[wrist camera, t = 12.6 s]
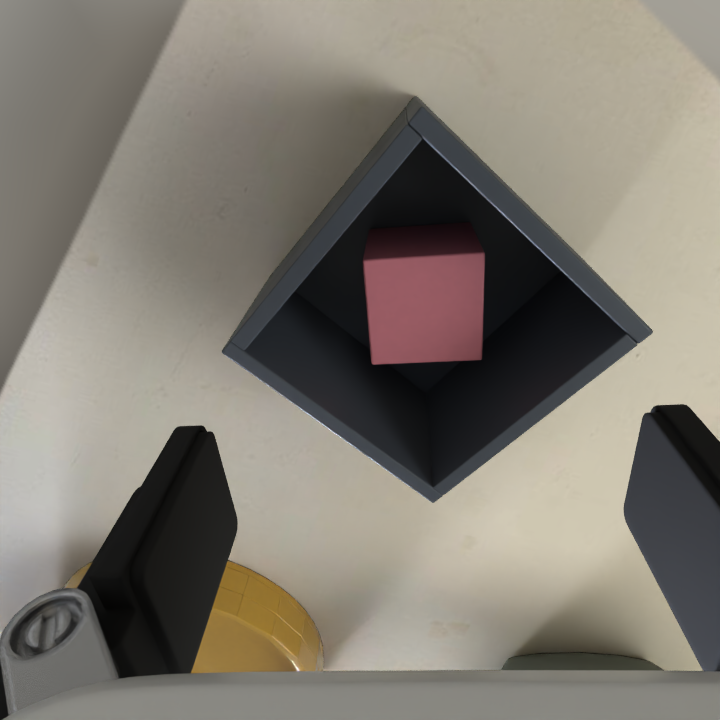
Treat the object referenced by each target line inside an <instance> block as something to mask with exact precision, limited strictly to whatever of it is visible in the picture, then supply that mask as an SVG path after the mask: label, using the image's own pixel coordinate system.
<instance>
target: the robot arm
mask: <svg viewBox="0 0 720 720" xmlns="http://www.w3.org/2000/svg"><path fill="white" fill-rule="evenodd" d="M624 516H625V520H626V523H627V525H628V527H629V529H630V531H631V533H632V535H633V537H634V539H635V541H636V542H637V544H638V546H639V548H640V550H641V552H642V554H643V556H644V558H645V560H646V562H647V564H648V566H649V567H650V569H651V571H652V573H653V575H654V577H655V579H656V581H657V583H658V585H659V587H660V589H661V591H662V593H663V594H664V596H665V598H666V600H667V602H668V604H669V606H670V608H671V610H672V612H673V614H674V616H675V618H676V619H677V621H678V623H679V625H680V627H681V629H682V631H683V633H684V635H685V637H686V639H687V641H688V643H689V644H690V646H691V648H692V650H693V652H694V654H695V656H696V658H697V660H698V662H699V664H700V666H701V667H702V669H703V671H663V670H436V671H292V672H225V673H191V671H192V669H193V666H194V663H195V660H196V656H197V653H198V650H199V647H200V644H201V641H202V638H203V635H204V632H205V629H206V626H207V623H208V620H209V616H210V613H211V610H212V607H213V604H214V601H215V598H216V595H217V592H218V589H219V586H220V583H221V579H222V576H223V573H224V570H225V567H226V564H227V561H228V558H229V555H230V552H231V549H232V546H233V542H234V539H235V536H236V533H237V524H238V523H237V516H236V512H235V508H234V505H233V501H232V497H231V494H230V490H229V487H228V483H227V479H226V476H225V472H224V468H223V465H222V461H221V457H220V454H219V450H218V447H217V443H216V439H215V436H214V434H213V432H207V431H206V429H205V427H204V426H179V427H176V429H175V430H174V431H173V433H172V435H171V436H170V438H169V440H168V441H167V443H166V445H165V447H164V448H163V450H162V452H161V453H160V455H159V457H158V458H157V460H156V462H155V464H154V465H153V467H152V469H151V470H150V472H149V474H148V475H147V477H146V479H145V481H144V482H143V484H142V486H141V487H139V488H137V490H136V491H135V492H134V493H133V495H132V496H131V498H130V500H129V502H128V503H127V505H126V507H125V508H124V510H123V512H122V513H121V515H120V517H119V518H118V520H117V522H116V523H115V525H114V527H113V528H112V530H111V532H110V533H109V535H108V537H107V538H106V540H105V542H104V543H103V545H102V547H101V549H100V550H99V552H98V554H97V555H96V557H95V559H94V560H93V562H92V564H91V565H90V567H89V569H88V570H87V572H86V574H85V575H84V577H83V579H82V580H81V582H80V584H79V585H78V587H77V588H63V589H58V590H53V591H51V592H48V593H46V594H44V595H41V596H39V597H38V598H36V599H34V600H33V601H31V602H30V603H28V604H27V605H25V606H24V607H23V608H22V609H21V610H20V611H19V612H18V613H17V614H15V615H14V617H13V618H12V619H11V621H10V622H9V623H8V624H7V626H6V627H5V629H4V631H3V634H2V636H1V638H0V720H720V442H719V441H718V439H717V438H716V437H715V436H714V435H713V434H712V433H711V431H710V430H709V429H708V428H707V427H706V426H705V425H704V423H703V422H702V421H701V420H700V419H699V418H698V417H697V416H696V414H695V413H694V412H693V411H692V410H691V409H690V408H689V407H688V406H687V405H684V404H680V405H658V406H654V407H653V409H652V410H651V413H645V414H644V416H643V418H642V423H641V427H640V432H639V437H638V442H637V446H636V451H635V456H634V461H633V465H632V470H631V475H630V479H629V484H628V489H627V494H626V498H625V503H624Z"/></svg>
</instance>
